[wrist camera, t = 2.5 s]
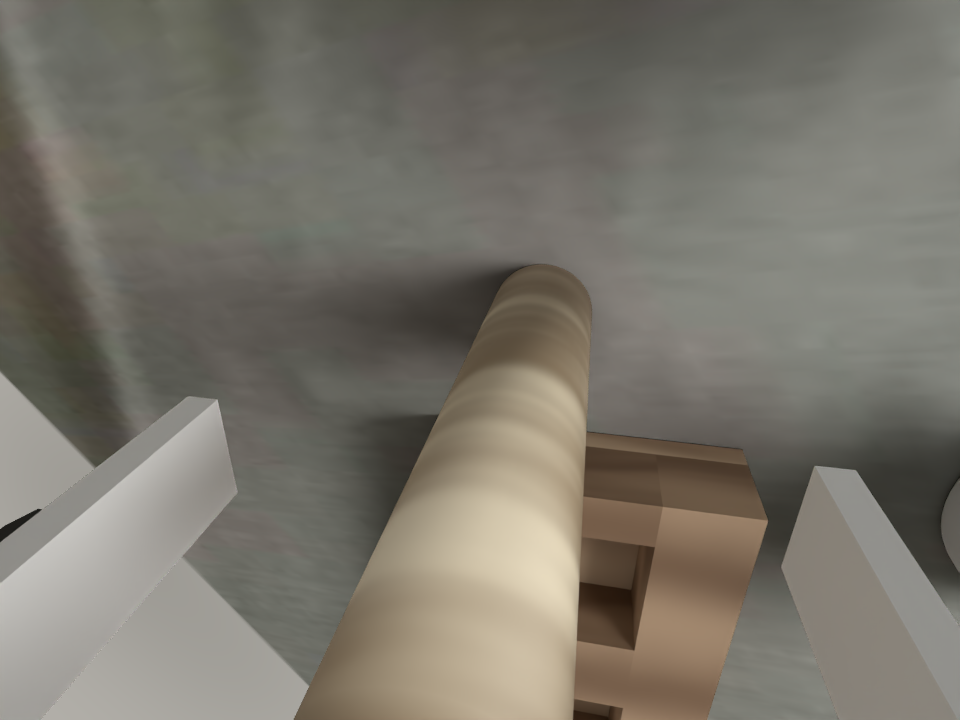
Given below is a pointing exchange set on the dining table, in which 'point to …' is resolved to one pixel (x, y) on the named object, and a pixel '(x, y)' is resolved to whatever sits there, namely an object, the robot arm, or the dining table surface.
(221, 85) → the dining table surface
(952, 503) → the mug
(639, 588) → the bore block
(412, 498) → the pin
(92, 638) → the robot arm
